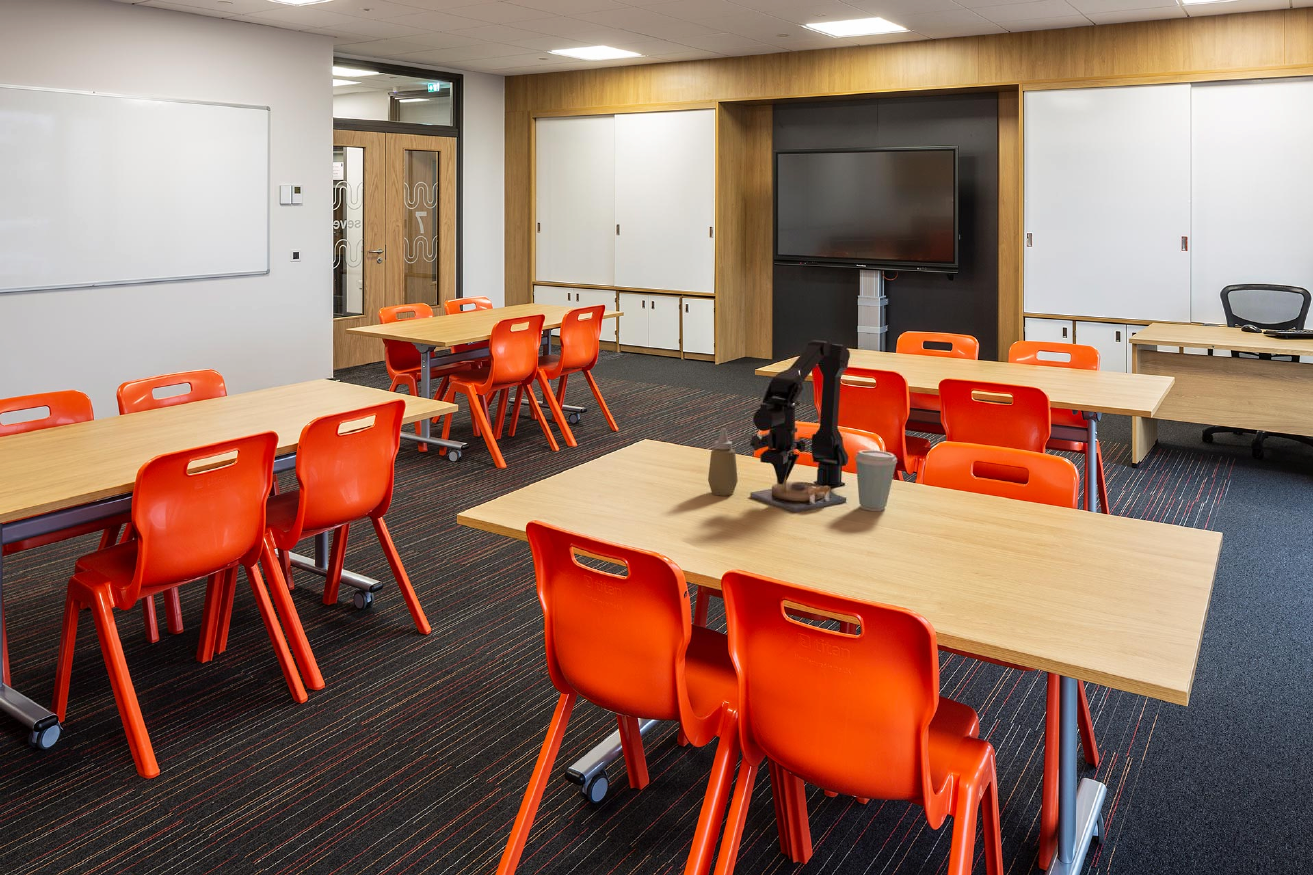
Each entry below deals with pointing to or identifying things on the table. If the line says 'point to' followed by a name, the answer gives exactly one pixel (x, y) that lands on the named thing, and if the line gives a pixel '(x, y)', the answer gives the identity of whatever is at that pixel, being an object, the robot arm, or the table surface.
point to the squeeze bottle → (723, 467)
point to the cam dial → (795, 491)
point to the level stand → (800, 505)
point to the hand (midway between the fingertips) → (782, 482)
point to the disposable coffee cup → (874, 478)
